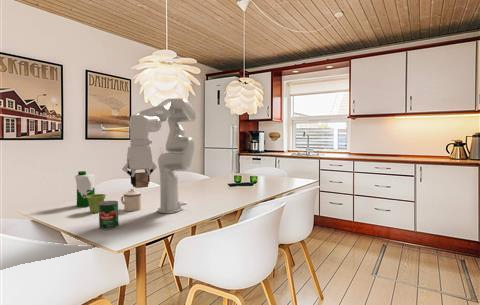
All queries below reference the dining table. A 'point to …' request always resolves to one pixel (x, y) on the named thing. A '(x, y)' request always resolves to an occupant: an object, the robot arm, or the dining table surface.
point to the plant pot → (95, 201)
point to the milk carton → (84, 188)
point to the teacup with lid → (132, 200)
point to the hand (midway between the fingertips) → (140, 184)
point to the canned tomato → (108, 215)
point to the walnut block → (141, 180)
